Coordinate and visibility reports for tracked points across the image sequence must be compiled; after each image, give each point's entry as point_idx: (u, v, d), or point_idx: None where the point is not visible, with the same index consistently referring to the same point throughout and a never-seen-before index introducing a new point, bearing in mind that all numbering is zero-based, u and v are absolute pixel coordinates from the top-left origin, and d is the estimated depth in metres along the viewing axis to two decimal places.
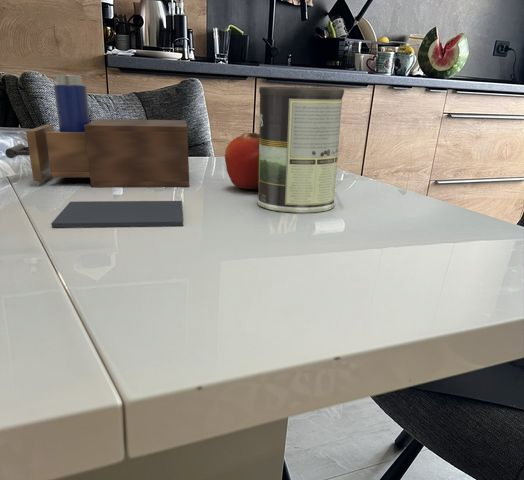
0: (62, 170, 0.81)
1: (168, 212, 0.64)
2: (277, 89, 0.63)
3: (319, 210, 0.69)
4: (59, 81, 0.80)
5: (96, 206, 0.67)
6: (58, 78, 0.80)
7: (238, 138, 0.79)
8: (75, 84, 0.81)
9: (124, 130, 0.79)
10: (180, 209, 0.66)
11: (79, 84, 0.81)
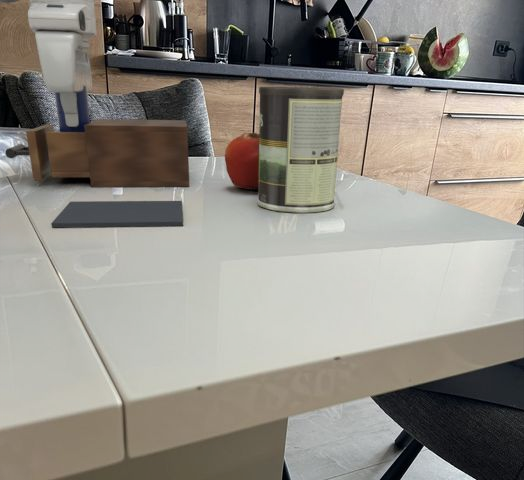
0: (62, 170, 0.81)
1: (168, 212, 0.64)
2: (277, 89, 0.63)
3: (319, 210, 0.69)
4: None
5: (96, 206, 0.67)
6: None
7: (238, 138, 0.79)
8: None
9: (124, 130, 0.79)
10: (180, 209, 0.66)
11: None
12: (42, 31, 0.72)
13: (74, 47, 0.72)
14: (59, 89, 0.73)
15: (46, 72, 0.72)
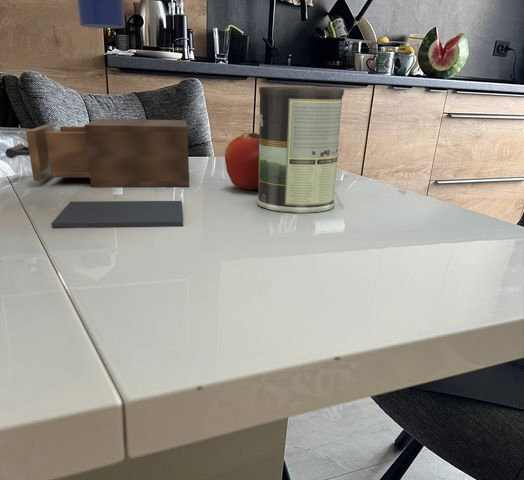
0: (62, 170, 0.81)
1: (168, 212, 0.64)
2: (277, 89, 0.63)
3: (319, 210, 0.69)
4: None
5: (96, 206, 0.67)
6: None
7: (238, 138, 0.79)
8: None
9: (124, 130, 0.79)
10: (180, 209, 0.66)
11: None
12: None
13: None
14: None
15: None
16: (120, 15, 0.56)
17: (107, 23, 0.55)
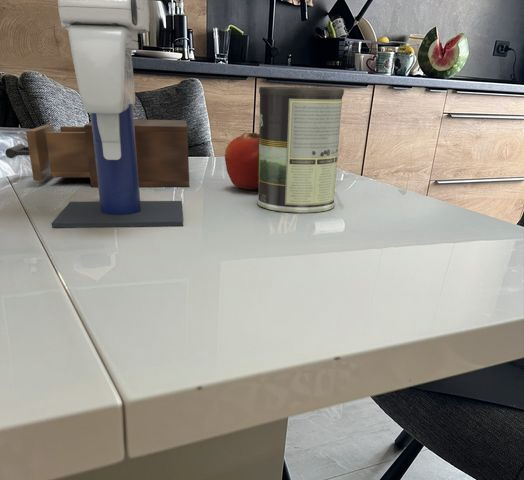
0: (62, 170, 0.81)
1: (168, 212, 0.64)
2: (277, 89, 0.63)
3: (319, 210, 0.69)
4: None
5: (96, 206, 0.67)
6: None
7: (238, 138, 0.79)
8: None
9: None
10: (180, 209, 0.66)
11: None
12: (78, 25, 0.49)
13: (124, 48, 0.50)
14: (102, 108, 0.51)
15: (84, 85, 0.50)
16: (137, 204, 0.64)
17: (125, 213, 0.63)
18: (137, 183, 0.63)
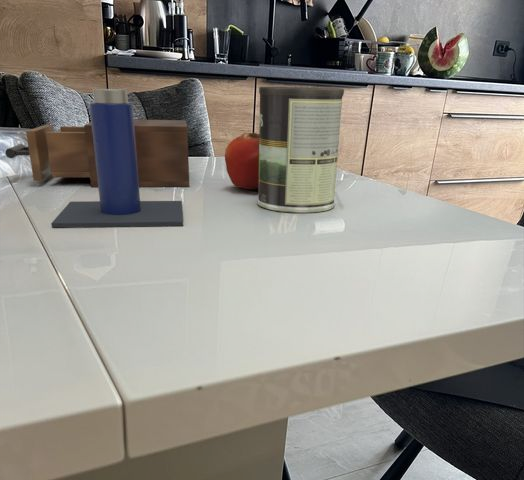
0: (62, 170, 0.81)
1: (168, 212, 0.64)
2: (277, 89, 0.63)
3: (319, 210, 0.69)
4: (97, 98, 0.58)
5: (96, 206, 0.67)
6: (96, 93, 0.58)
7: (238, 138, 0.79)
8: (119, 102, 0.59)
9: None
10: (180, 209, 0.66)
11: (124, 102, 0.59)
12: None
13: None
14: None
15: None
16: (137, 204, 0.64)
17: (125, 213, 0.63)
18: (137, 183, 0.63)
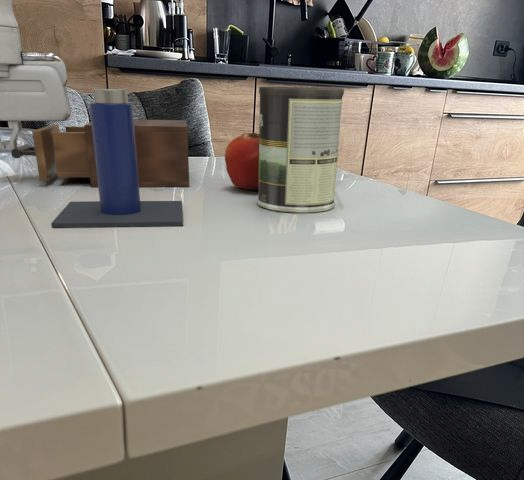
0: (68, 170, 0.81)
1: (168, 212, 0.64)
2: (277, 89, 0.63)
3: (319, 210, 0.69)
4: (97, 98, 0.58)
5: (96, 206, 0.67)
6: (96, 93, 0.58)
7: (238, 138, 0.79)
8: (119, 102, 0.59)
9: None
10: (180, 209, 0.66)
11: (124, 102, 0.59)
12: None
13: None
14: None
15: None
16: (137, 204, 0.64)
17: (125, 213, 0.63)
18: (137, 183, 0.63)
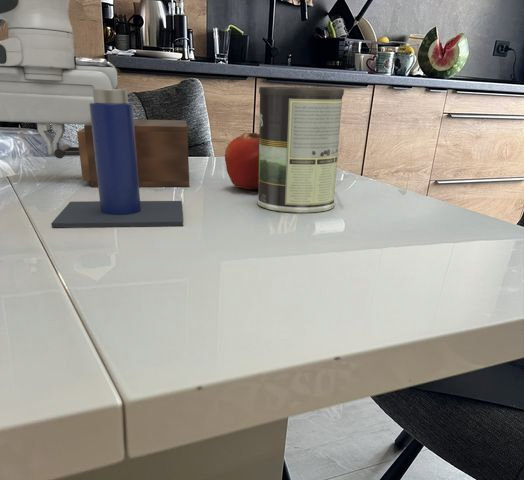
0: None
1: (168, 212, 0.64)
2: (277, 89, 0.63)
3: (319, 210, 0.69)
4: (97, 98, 0.58)
5: (96, 206, 0.67)
6: (96, 93, 0.58)
7: (238, 138, 0.79)
8: (119, 102, 0.59)
9: None
10: (180, 209, 0.66)
11: (124, 102, 0.59)
12: None
13: None
14: None
15: None
16: (137, 204, 0.64)
17: (125, 213, 0.63)
18: (137, 183, 0.63)
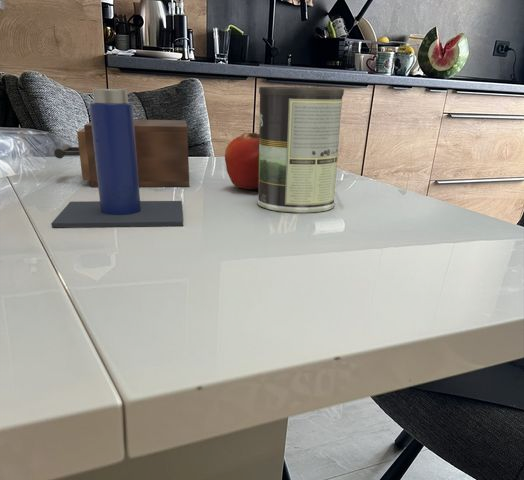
0: None
1: (168, 212, 0.64)
2: (277, 89, 0.63)
3: (319, 210, 0.69)
4: (97, 98, 0.58)
5: (96, 206, 0.67)
6: (96, 93, 0.58)
7: (238, 138, 0.79)
8: (119, 102, 0.59)
9: None
10: (180, 209, 0.66)
11: (124, 102, 0.59)
12: None
13: None
14: None
15: None
16: (137, 204, 0.64)
17: (125, 213, 0.63)
18: (137, 183, 0.63)
